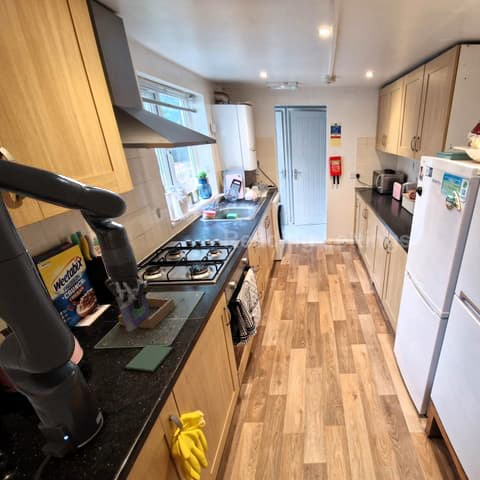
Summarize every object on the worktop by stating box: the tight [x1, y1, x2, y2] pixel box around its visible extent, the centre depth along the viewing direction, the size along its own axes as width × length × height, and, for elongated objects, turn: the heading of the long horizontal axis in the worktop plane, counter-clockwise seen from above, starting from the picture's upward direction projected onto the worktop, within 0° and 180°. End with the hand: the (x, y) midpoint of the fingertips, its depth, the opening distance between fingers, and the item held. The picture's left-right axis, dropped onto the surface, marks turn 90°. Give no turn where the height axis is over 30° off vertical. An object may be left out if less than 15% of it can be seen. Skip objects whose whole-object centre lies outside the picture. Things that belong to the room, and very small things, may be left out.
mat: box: [125, 344, 174, 372], centre depth 91 cm, size 10×10×1 cm
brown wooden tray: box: [117, 296, 176, 330], centre depth 112 cm, size 14×14×4 cm
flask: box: [119, 293, 152, 333], centre depth 85 cm, size 9×3×11 cm, turn 172°
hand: (134, 307), depth 85 cm, fingers closed on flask, 3 cm apart
